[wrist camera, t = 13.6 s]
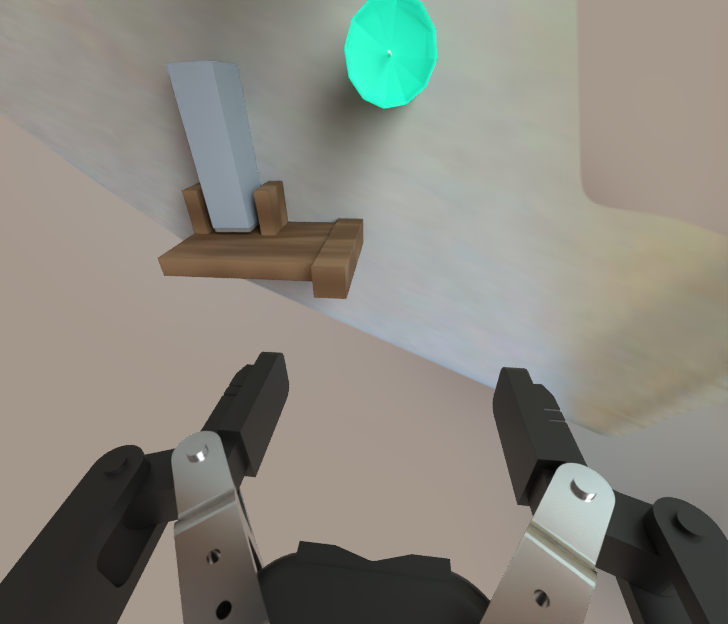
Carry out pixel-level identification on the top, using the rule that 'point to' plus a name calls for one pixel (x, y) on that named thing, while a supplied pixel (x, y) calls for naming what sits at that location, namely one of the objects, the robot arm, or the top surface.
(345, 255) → the wooden holder stand
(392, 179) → the top surface
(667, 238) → the top surface
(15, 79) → the top surface
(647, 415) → the top surface
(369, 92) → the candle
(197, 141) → the light blue rectangular bar
